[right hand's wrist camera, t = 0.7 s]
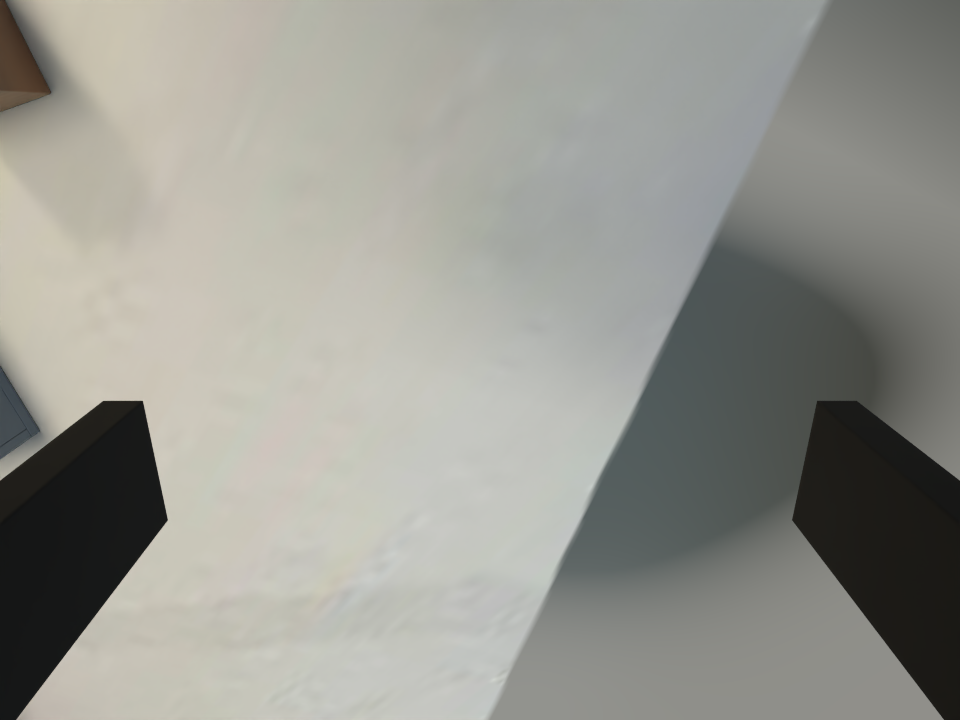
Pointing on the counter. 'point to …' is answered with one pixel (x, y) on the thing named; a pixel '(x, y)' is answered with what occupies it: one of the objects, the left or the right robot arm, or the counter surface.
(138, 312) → the counter surface
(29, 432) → the tray
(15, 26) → the block
